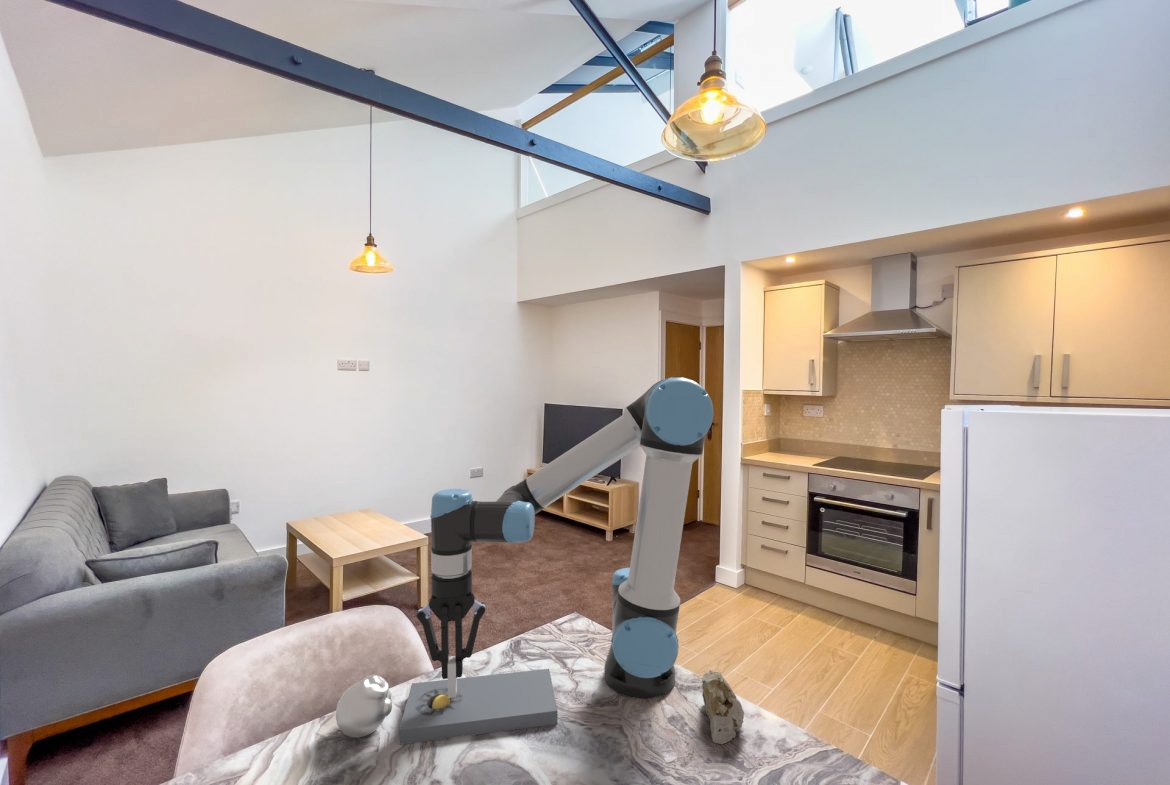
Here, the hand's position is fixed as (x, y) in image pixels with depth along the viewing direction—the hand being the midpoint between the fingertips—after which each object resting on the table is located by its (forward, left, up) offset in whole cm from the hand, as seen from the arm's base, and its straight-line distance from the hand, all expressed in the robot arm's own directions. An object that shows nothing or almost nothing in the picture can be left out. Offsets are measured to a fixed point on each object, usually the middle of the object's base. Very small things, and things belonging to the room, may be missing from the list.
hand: (452, 693), depth 96 cm
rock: (-51, +3, -4) cm, 51 cm away
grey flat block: (-5, -1, -4) cm, 7 cm away
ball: (+2, 0, -2) cm, 3 cm away
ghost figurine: (+15, +5, -4) cm, 16 cm away
